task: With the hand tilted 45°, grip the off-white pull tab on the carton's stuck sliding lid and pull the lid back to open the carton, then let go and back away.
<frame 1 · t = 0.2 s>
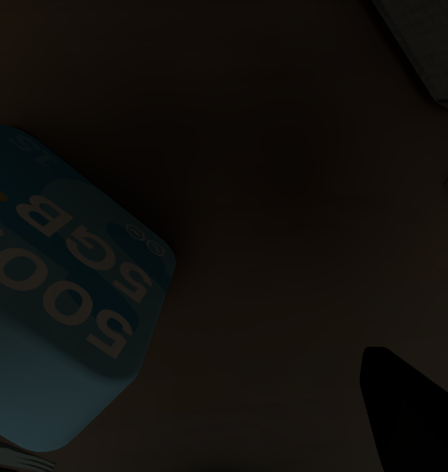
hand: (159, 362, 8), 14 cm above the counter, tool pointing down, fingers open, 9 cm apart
data package: (83, 216, 23), on the counter
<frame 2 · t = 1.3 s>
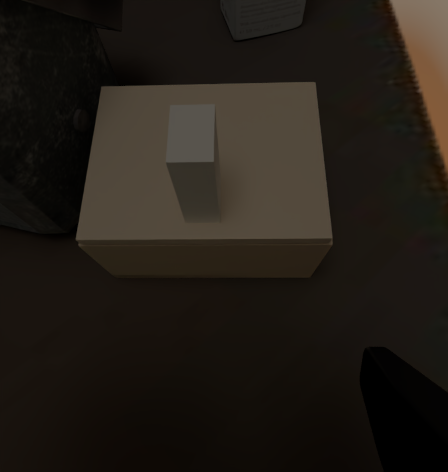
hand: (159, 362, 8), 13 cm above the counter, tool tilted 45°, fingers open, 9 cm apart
lid: (200, 125, 16), point 9 cm above the counter, slide at 0.0 cm
skincare box: (261, 19, 31), on the counter
carton: (213, 212, 24), on the counter
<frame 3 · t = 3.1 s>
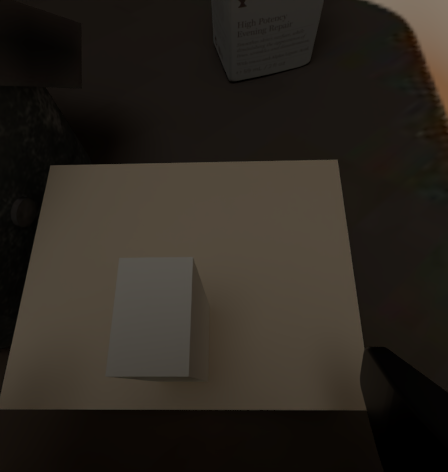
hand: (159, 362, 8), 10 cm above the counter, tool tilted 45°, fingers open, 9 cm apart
lid: (178, 247, 11), point 9 cm above the counter, slide at 0.0 cm
skincare box: (261, 54, 26), on the counter
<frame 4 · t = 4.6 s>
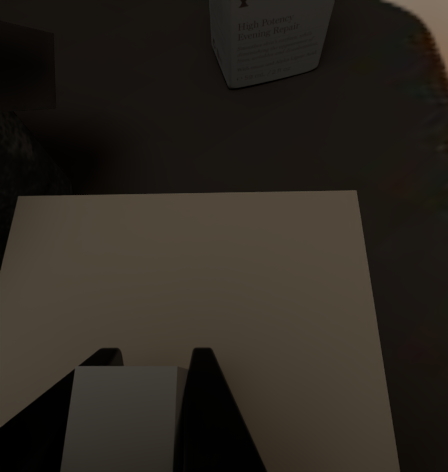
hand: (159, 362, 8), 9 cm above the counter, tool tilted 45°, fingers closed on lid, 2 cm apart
lid: (164, 314, 9), point 9 cm above the counter, slide at 0.0 cm, touching gripper
skincare box: (264, 58, 24), on the counter
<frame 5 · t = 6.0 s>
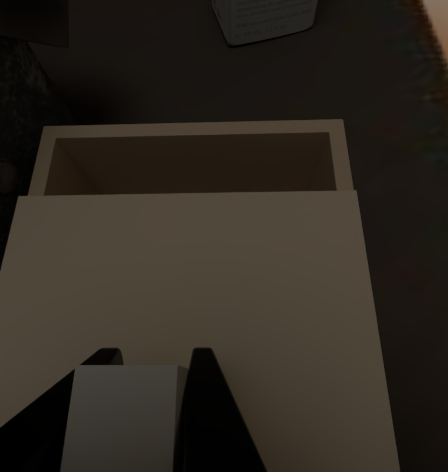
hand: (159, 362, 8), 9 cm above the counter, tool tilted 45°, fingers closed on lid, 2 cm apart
lid: (164, 313, 9), point 9 cm above the counter, slide at 3.7 cm, touching gripper
skincare box: (262, 19, 25), on the counter
carton: (201, 272, 18), on the counter
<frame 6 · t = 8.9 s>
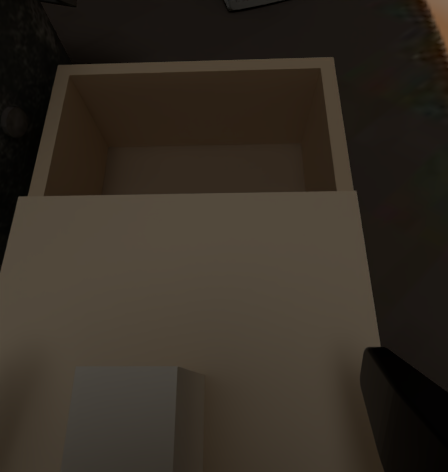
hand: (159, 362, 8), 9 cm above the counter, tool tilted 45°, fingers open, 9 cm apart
lid: (164, 314, 9), point 9 cm above the counter, slide at 7.0 cm
carton: (203, 212, 20), on the counter
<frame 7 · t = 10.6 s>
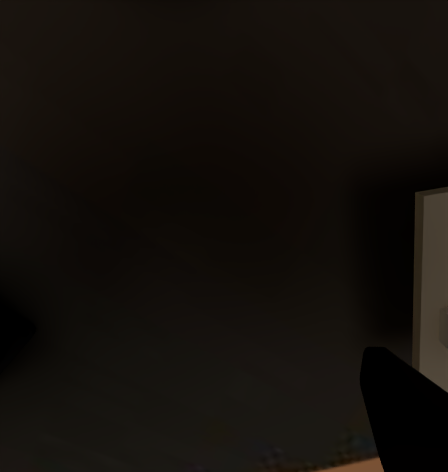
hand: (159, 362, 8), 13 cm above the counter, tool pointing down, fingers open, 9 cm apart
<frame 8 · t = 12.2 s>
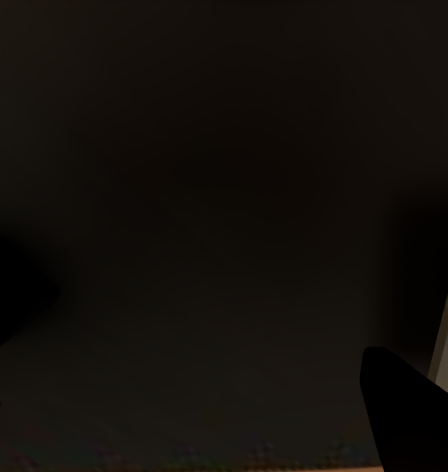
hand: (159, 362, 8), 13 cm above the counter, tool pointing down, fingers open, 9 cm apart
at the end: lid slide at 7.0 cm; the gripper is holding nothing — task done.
